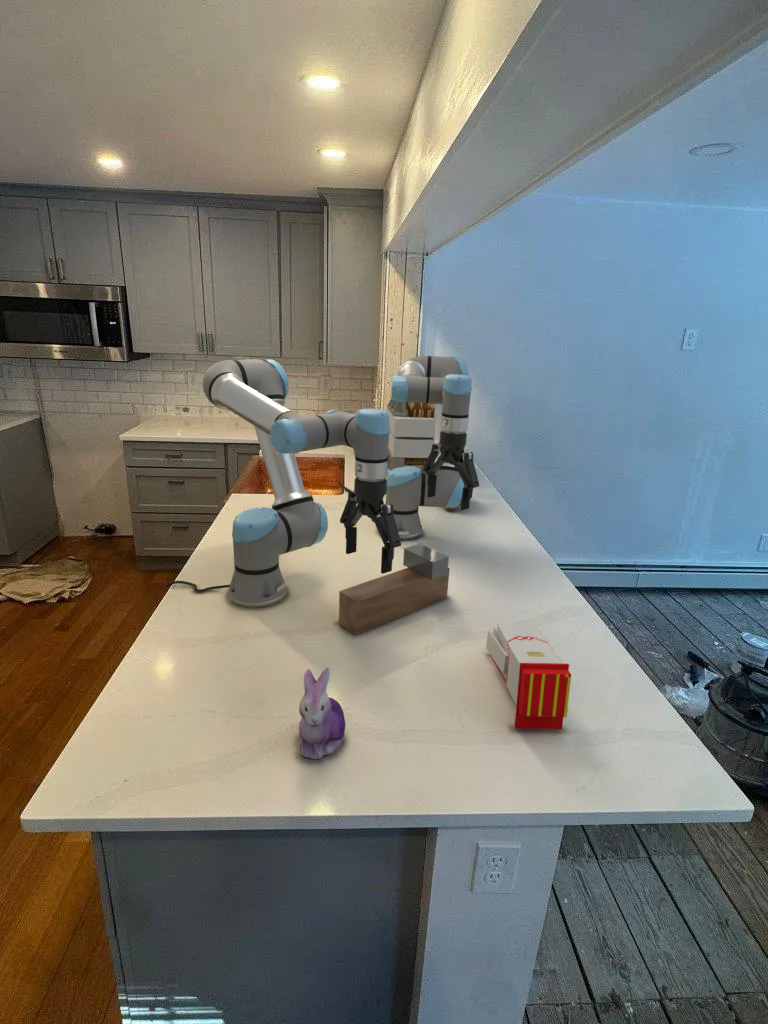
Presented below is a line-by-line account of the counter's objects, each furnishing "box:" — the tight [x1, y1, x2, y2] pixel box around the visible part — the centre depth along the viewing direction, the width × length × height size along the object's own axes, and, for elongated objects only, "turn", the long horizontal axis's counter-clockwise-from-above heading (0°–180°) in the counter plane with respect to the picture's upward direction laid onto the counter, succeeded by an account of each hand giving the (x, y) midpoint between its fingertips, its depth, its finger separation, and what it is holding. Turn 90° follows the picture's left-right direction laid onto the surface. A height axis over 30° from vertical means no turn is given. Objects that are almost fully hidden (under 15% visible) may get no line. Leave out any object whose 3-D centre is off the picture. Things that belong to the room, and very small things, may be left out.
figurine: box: [298, 667, 346, 760], centre depth 100 cm, size 9×10×15 cm
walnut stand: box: [338, 567, 450, 636], centre depth 148 cm, size 7×32×9 cm, turn 131°
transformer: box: [386, 398, 460, 472], centre depth 268 cm, size 34×33×41 cm
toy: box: [485, 623, 572, 730], centre depth 120 cm, size 12×13×30 cm
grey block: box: [402, 543, 450, 580], centre depth 152 cm, size 11×6×5 cm, turn 41°
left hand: (368, 562), depth 137 cm, fingers open, 13 cm apart
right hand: (447, 502), depth 167 cm, fingers open, 13 cm apart
